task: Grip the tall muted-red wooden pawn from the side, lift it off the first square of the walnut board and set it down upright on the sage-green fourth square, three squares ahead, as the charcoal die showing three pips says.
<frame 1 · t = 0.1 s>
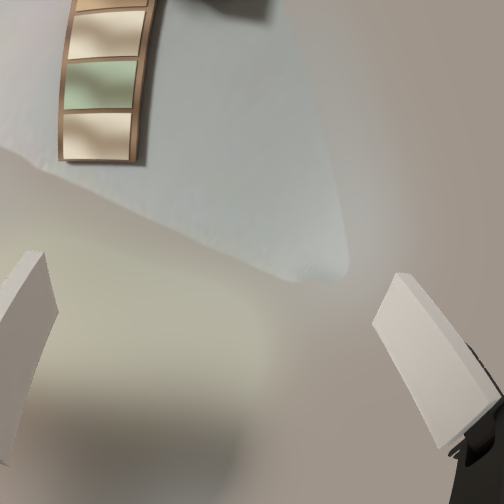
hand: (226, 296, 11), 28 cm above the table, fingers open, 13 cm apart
board: (108, 35, 25), on the table
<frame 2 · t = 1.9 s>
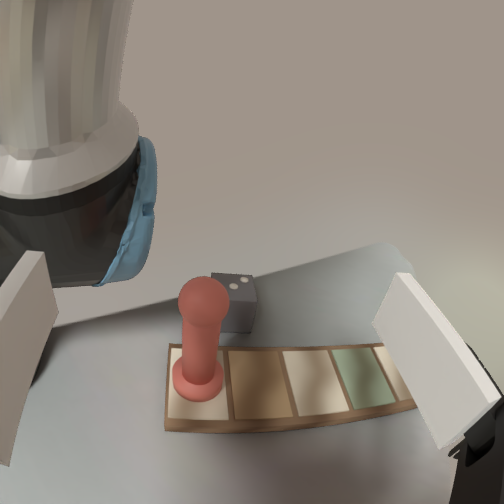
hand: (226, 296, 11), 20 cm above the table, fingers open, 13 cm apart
die: (228, 317, 39), on the table
pawn: (197, 381, 28), point 1 cm above the table, touching board
board: (310, 387, 31), on the table
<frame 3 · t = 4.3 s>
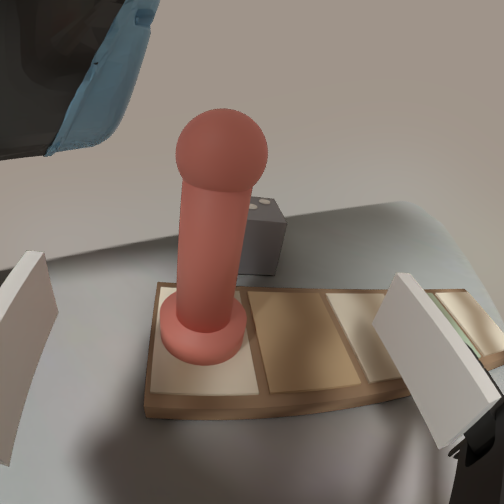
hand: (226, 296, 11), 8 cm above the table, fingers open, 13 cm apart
die: (242, 258, 28), on the table
pawn: (201, 333, 18), point 1 cm above the table, touching board
board: (370, 344, 21), on the table
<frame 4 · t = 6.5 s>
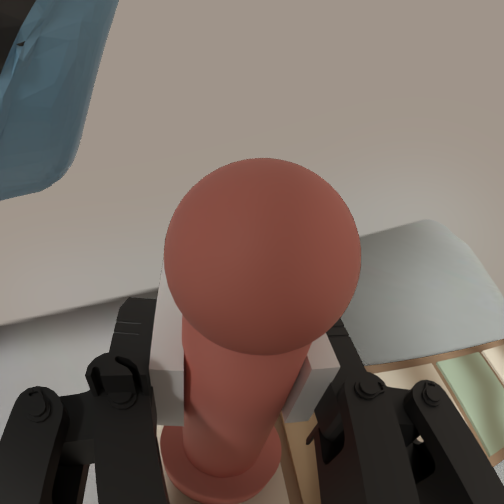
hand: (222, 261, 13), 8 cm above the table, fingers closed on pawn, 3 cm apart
pawn: (218, 457, 11), point 1 cm above the table, touching board, gripper
board: (418, 431, 14), on the table
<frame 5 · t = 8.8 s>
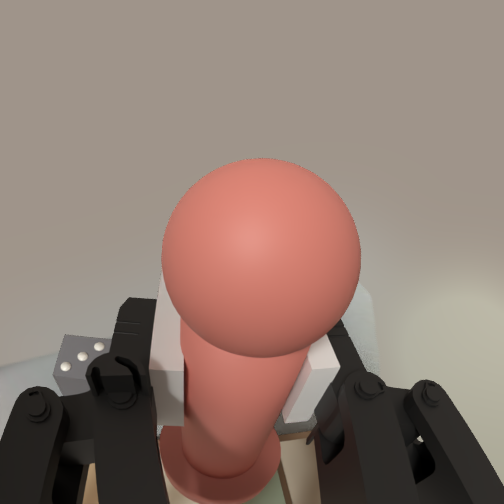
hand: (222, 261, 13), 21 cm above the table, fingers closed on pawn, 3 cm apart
die: (93, 387, 26), on the table
pawn: (217, 458, 11), point 14 cm above the table, touching gripper
board: (174, 494, 19), on the table
when the fingers open (9 cm above the table, at t = 11.3 s): pawn drops 1 cm, resting on board.
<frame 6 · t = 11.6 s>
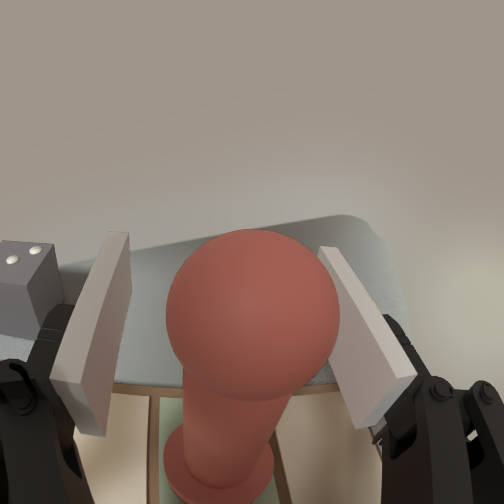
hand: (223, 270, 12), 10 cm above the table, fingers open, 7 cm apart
die: (29, 314, 19), on the table
pawn: (216, 469, 12), point 1 cm above the table, touching board
board: (98, 467, 12), on the table
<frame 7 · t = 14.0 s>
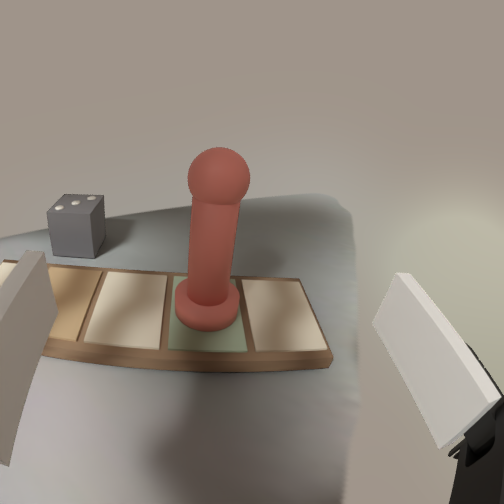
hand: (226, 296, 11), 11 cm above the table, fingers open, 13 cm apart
die: (80, 244, 31), on the table
pawn: (206, 309, 24), point 1 cm above the table, touching board
board: (130, 318, 23), on the table
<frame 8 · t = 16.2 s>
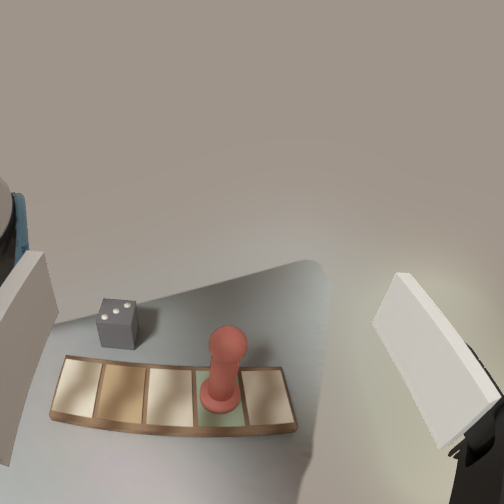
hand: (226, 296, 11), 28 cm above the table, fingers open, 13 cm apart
die: (120, 335, 43), on the table
pawn: (219, 397, 35), point 1 cm above the table, touching board
board: (170, 401, 35), on the table
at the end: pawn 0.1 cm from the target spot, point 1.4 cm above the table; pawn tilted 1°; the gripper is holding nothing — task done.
